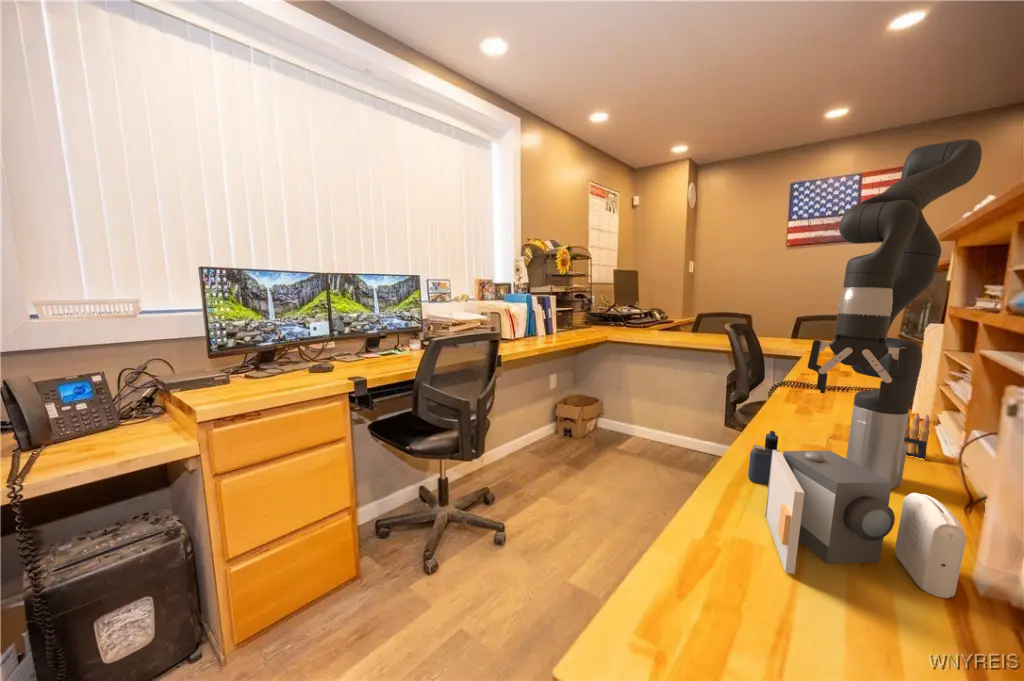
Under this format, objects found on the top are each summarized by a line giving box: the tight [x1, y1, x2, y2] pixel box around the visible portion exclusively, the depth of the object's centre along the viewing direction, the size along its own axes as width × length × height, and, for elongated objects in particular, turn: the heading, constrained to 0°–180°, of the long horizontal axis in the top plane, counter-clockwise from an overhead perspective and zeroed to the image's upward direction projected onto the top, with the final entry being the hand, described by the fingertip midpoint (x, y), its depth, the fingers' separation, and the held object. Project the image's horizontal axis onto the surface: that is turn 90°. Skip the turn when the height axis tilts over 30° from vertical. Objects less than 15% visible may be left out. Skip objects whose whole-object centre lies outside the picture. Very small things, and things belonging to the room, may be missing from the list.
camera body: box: [782, 450, 896, 564], centre depth 70 cm, size 9×14×15 cm, turn 2°
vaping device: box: [747, 430, 779, 485], centre depth 92 cm, size 3×5×12 cm, turn 78°
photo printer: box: [894, 492, 967, 599], centre depth 62 cm, size 10×4×12 cm, turn 156°
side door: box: [764, 449, 804, 575], centre depth 70 cm, size 2×17×14 cm, turn 157°
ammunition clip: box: [904, 411, 930, 460], centre depth 108 cm, size 11×2×12 cm, turn 41°
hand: (850, 397), depth 77 cm, fingers open, 8 cm apart
